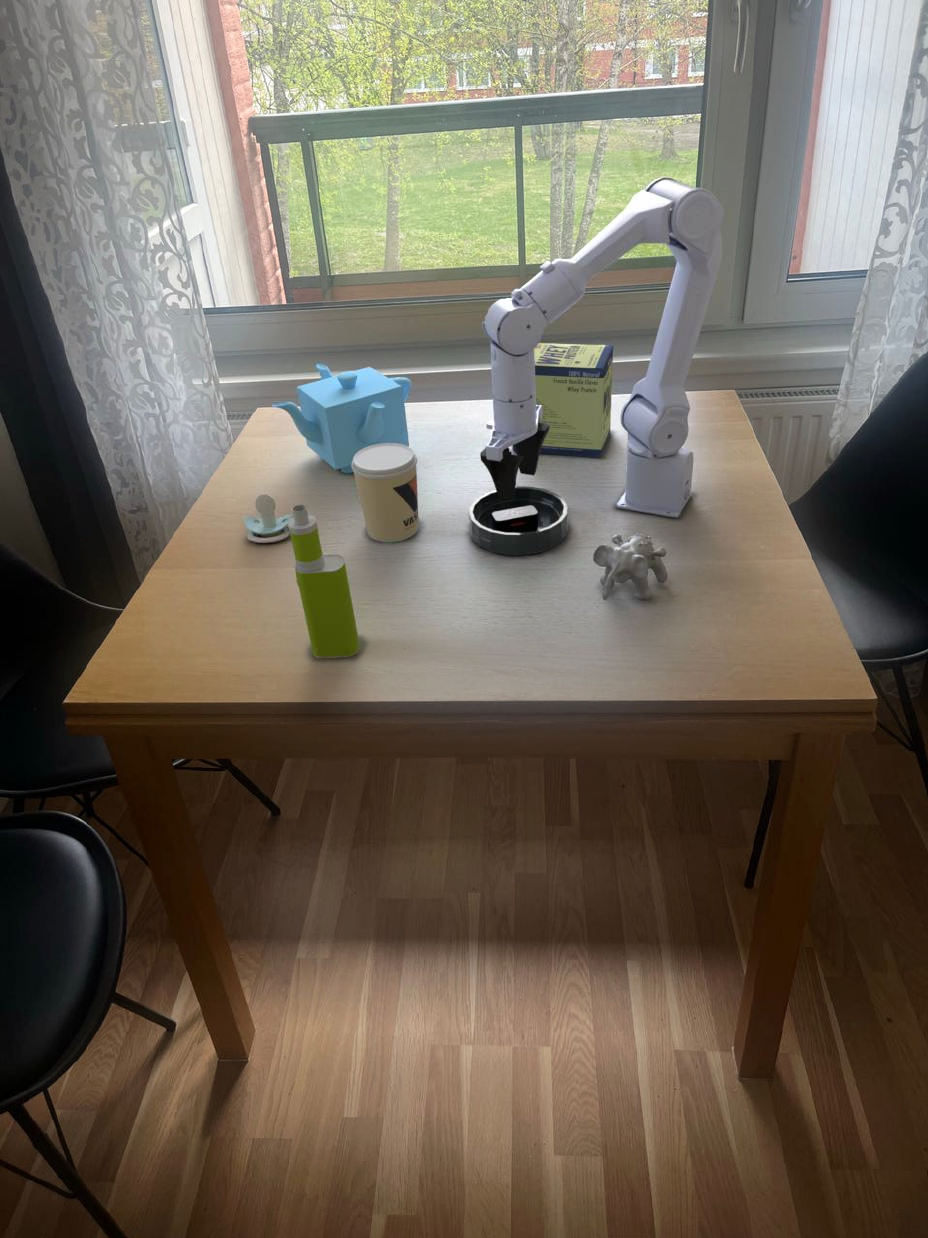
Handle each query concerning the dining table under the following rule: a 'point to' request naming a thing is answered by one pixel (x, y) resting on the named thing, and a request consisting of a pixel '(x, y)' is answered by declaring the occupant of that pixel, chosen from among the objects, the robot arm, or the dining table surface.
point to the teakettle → (350, 413)
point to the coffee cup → (387, 490)
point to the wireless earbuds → (516, 520)
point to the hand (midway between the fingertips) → (517, 485)
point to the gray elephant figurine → (631, 564)
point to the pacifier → (267, 522)
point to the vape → (322, 590)
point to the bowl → (546, 537)
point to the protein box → (574, 397)
